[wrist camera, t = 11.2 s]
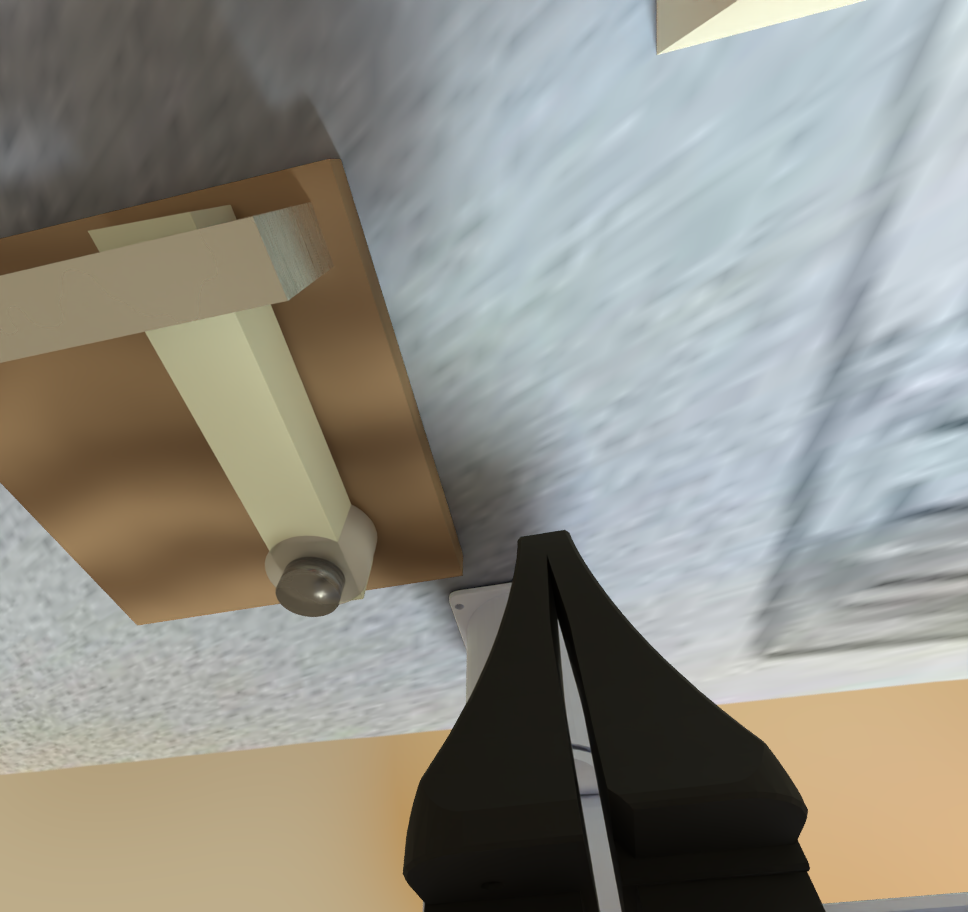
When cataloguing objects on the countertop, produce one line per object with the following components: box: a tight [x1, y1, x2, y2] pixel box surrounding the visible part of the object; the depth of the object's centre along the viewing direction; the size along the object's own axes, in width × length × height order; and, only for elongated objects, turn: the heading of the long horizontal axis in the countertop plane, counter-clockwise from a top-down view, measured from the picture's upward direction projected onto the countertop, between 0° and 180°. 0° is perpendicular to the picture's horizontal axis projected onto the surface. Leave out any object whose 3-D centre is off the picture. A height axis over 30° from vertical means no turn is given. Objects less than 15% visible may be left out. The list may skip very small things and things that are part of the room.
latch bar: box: [88, 205, 377, 604], centre depth 18 cm, size 16×4×2 cm, turn 9°
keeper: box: [0, 202, 334, 363], centre depth 14 cm, size 2×8×5 cm, turn 101°
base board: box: [0, 159, 463, 625], centre depth 21 cm, size 19×19×2 cm
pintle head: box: [275, 557, 345, 617], centre depth 19 cm, size 3×3×1 cm
